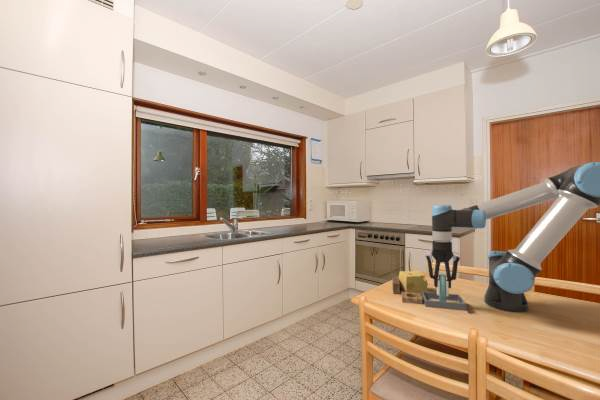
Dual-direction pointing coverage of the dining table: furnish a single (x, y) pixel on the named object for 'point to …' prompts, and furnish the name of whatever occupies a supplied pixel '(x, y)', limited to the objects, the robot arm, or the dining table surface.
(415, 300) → the holder
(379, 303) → the dining table surface
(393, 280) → the bar
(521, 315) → the dining table surface
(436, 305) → the tray
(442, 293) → the dowel
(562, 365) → the dining table surface
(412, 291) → the cheese
